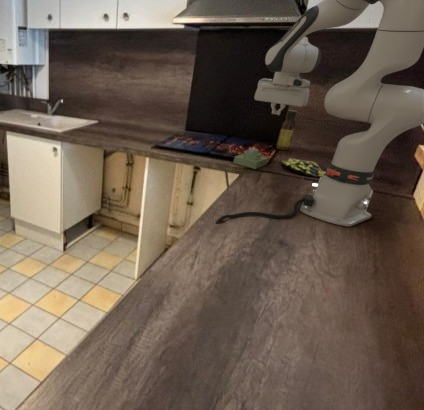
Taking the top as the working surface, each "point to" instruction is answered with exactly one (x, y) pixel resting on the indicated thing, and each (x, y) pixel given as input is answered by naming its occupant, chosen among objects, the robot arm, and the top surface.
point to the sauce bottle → (287, 131)
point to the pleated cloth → (304, 167)
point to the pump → (253, 151)
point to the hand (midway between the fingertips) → (275, 114)
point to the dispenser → (251, 160)
